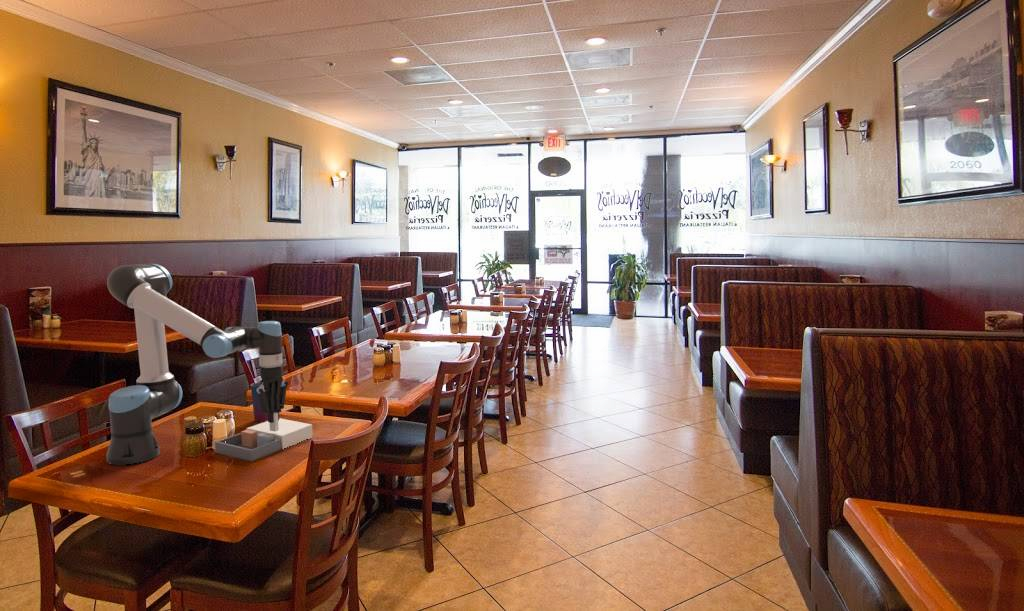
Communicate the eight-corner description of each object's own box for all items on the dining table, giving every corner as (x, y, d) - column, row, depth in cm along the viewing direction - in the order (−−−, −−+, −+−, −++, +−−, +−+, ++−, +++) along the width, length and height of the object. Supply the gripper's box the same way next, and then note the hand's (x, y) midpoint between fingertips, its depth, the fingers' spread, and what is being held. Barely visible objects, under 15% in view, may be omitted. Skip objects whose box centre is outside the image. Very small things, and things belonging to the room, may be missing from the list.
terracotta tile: (247, 442, 211) (241, 445, 209) (247, 429, 210) (241, 431, 208) (257, 445, 209) (251, 447, 206) (256, 431, 208) (250, 433, 206)
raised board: (247, 441, 214) (246, 428, 213) (277, 430, 226) (277, 417, 226) (282, 449, 206) (282, 435, 205) (312, 437, 218) (312, 424, 218)
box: (215, 453, 202) (214, 442, 202) (244, 442, 213) (244, 431, 212) (251, 462, 194) (251, 450, 194) (280, 450, 205) (280, 439, 204)
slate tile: (263, 446, 207) (257, 448, 205) (262, 433, 207) (256, 435, 204) (273, 449, 205) (267, 451, 203) (272, 435, 204) (266, 437, 202)
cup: (252, 418, 240) (250, 383, 238) (270, 416, 243) (268, 381, 241) (252, 423, 234) (250, 387, 232) (270, 421, 237) (269, 385, 235)
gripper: (263, 370, 198) (266, 437, 201) (293, 362, 210) (296, 426, 212) (248, 367, 201) (251, 434, 204) (278, 360, 213) (281, 423, 216)
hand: (274, 430), depth 208 cm, fingers closed
